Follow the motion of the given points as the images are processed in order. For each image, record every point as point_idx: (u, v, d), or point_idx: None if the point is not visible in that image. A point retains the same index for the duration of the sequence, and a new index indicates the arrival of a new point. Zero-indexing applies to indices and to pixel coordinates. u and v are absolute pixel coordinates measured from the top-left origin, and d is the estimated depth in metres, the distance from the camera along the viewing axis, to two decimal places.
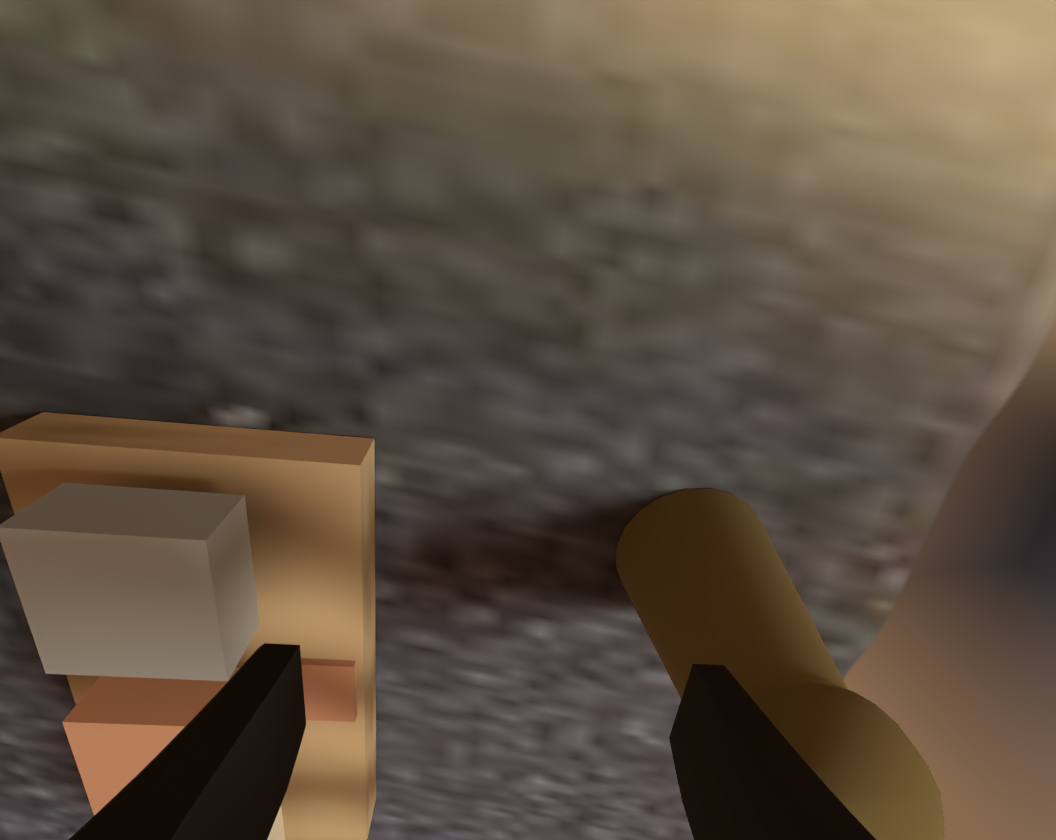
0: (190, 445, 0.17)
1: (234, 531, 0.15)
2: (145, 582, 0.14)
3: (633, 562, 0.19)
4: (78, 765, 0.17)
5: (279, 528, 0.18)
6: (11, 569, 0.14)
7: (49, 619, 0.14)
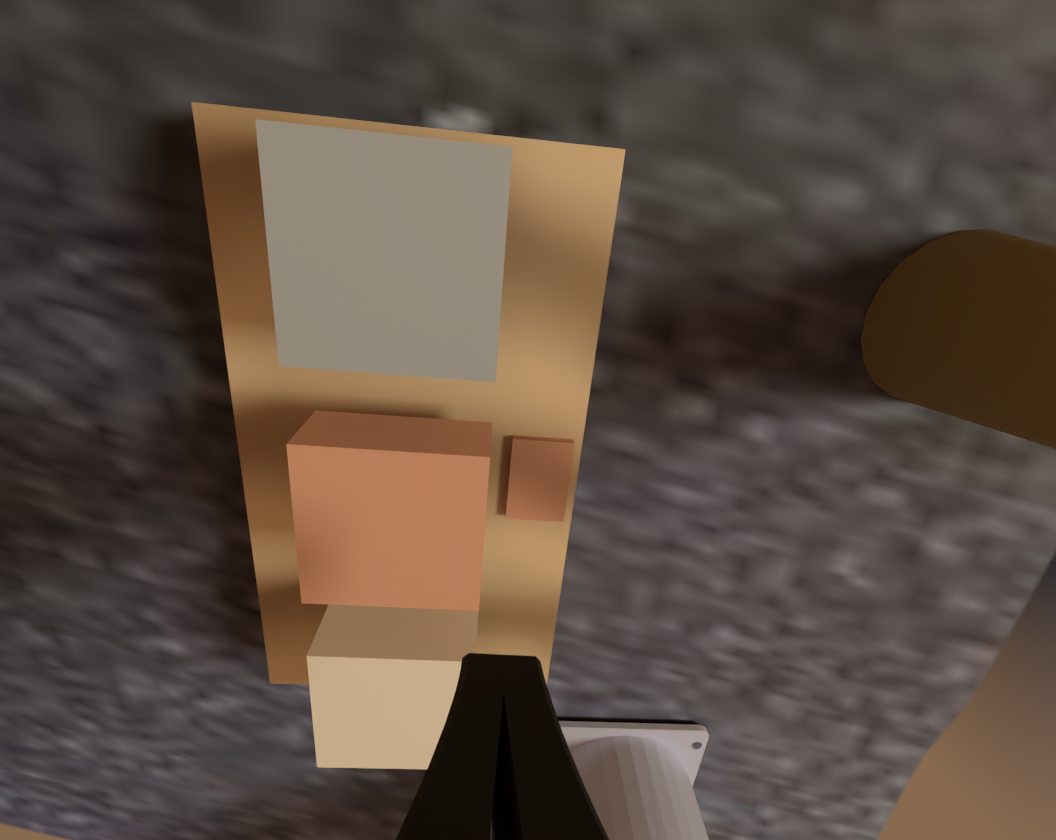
0: None
1: None
2: (425, 217, 0.11)
3: (908, 309, 0.16)
4: (293, 514, 0.14)
5: (515, 244, 0.15)
6: (263, 192, 0.11)
7: (297, 278, 0.11)
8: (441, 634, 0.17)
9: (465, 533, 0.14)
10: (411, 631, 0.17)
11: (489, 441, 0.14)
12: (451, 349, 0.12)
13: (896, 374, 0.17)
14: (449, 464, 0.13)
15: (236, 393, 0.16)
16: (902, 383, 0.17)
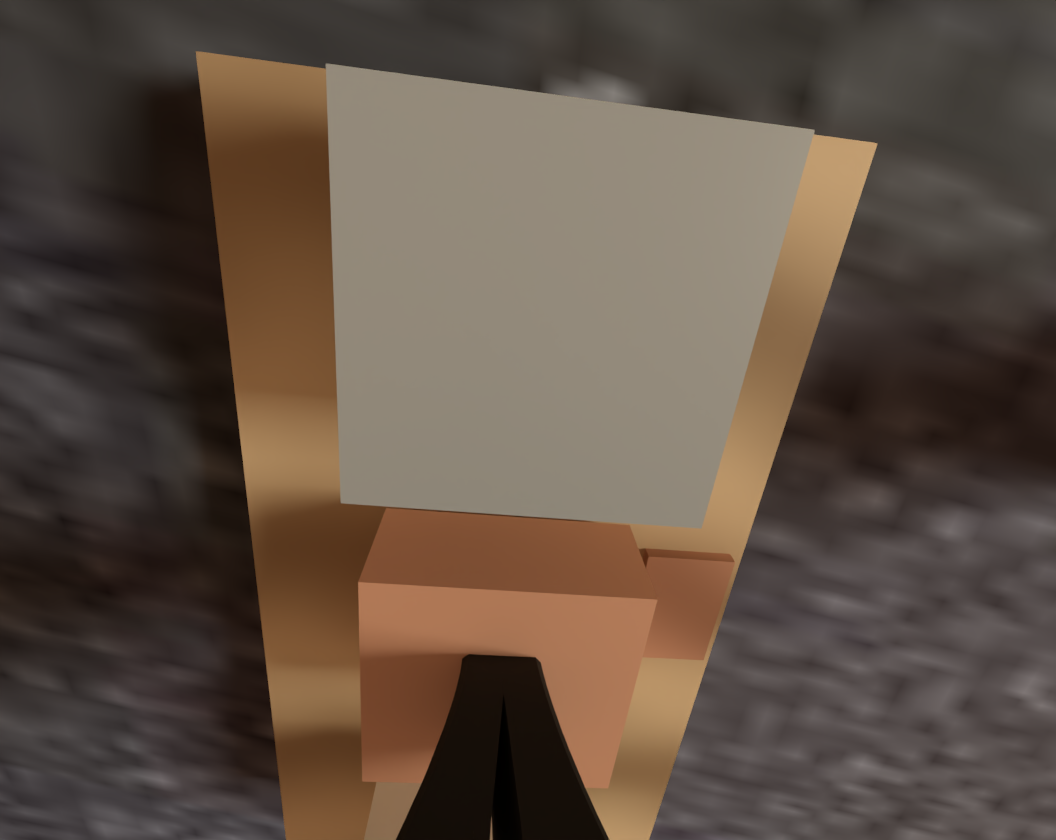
0: None
1: None
2: (628, 258, 0.06)
3: None
4: (360, 671, 0.09)
5: None
6: (333, 208, 0.06)
7: (384, 361, 0.06)
8: None
9: (605, 695, 0.10)
10: None
11: (642, 564, 0.10)
12: (637, 478, 0.07)
13: None
14: (596, 609, 0.09)
15: (254, 491, 0.11)
16: None
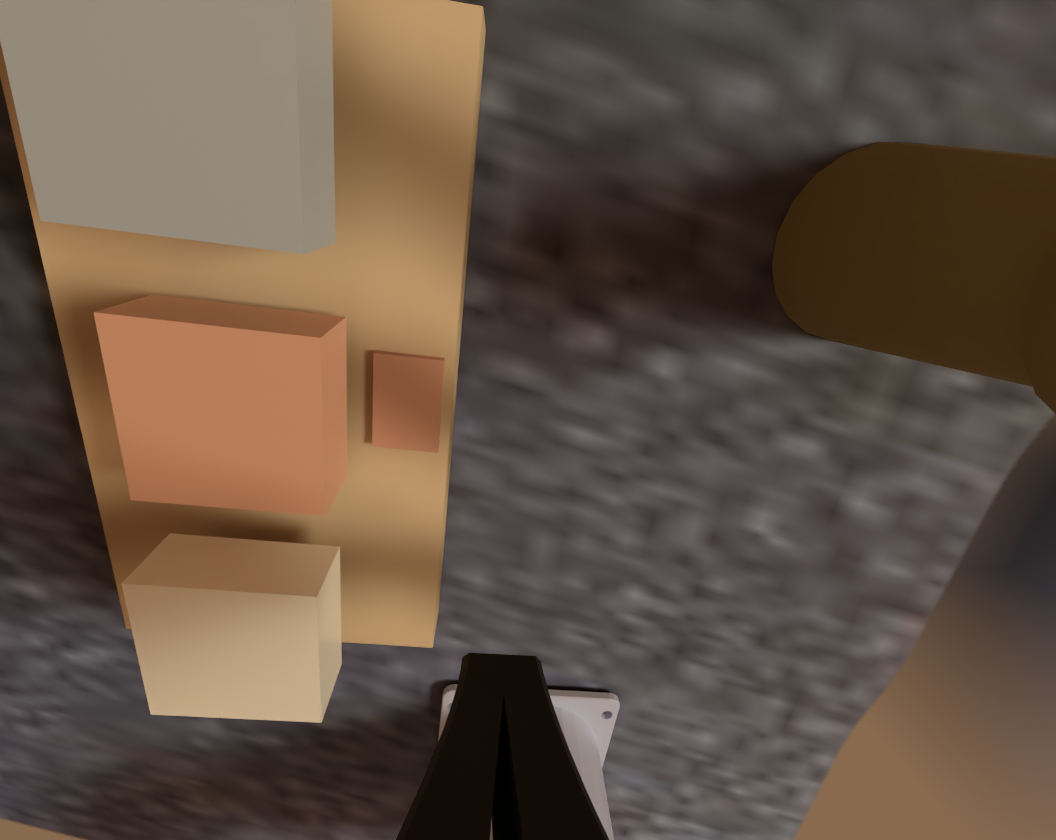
0: None
1: (319, 19, 0.10)
2: (195, 32, 0.09)
3: (815, 223, 0.15)
4: (111, 396, 0.13)
5: (362, 118, 0.13)
6: None
7: (48, 106, 0.10)
8: (288, 568, 0.15)
9: (301, 425, 0.13)
10: (254, 564, 0.15)
11: (330, 328, 0.13)
12: (246, 209, 0.10)
13: (804, 300, 0.16)
14: (276, 344, 0.12)
15: (54, 286, 0.14)
16: (810, 310, 0.16)
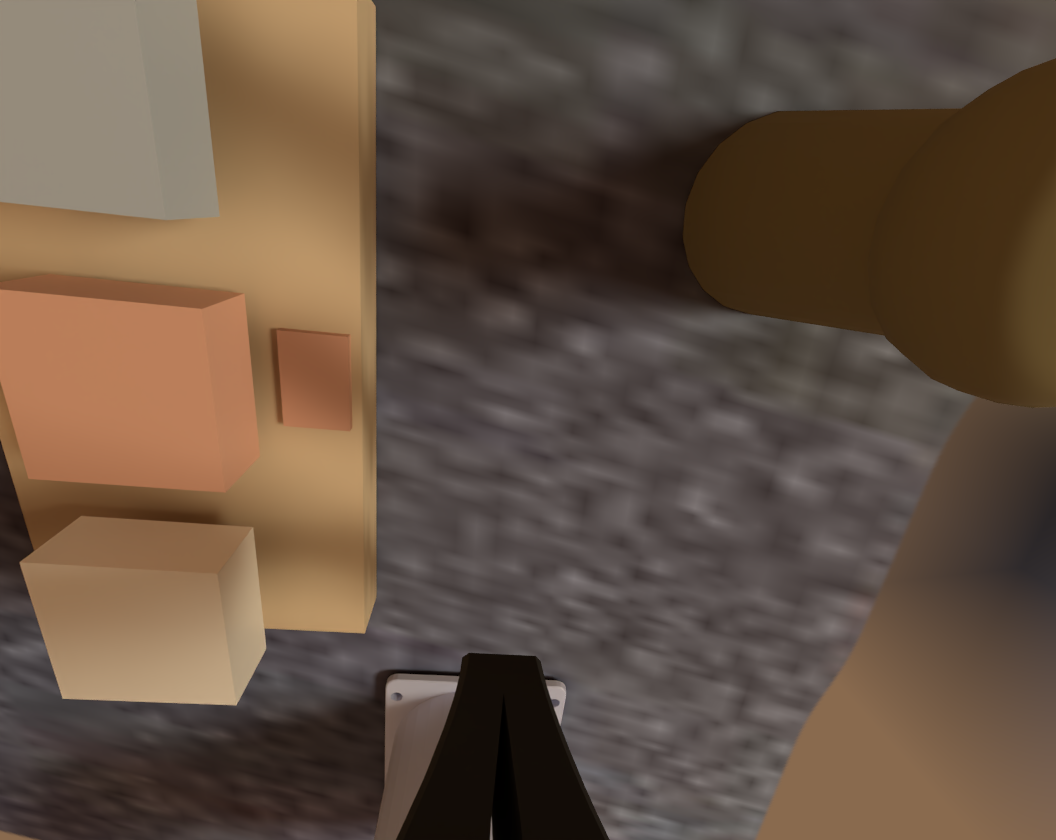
0: None
1: None
2: None
3: (714, 191, 0.15)
4: None
5: (247, 93, 0.13)
6: None
7: None
8: (194, 547, 0.15)
9: (192, 399, 0.13)
10: (160, 543, 0.15)
11: (219, 301, 0.13)
12: (104, 175, 0.10)
13: (711, 270, 0.16)
14: (159, 316, 0.12)
15: None
16: (718, 280, 0.16)
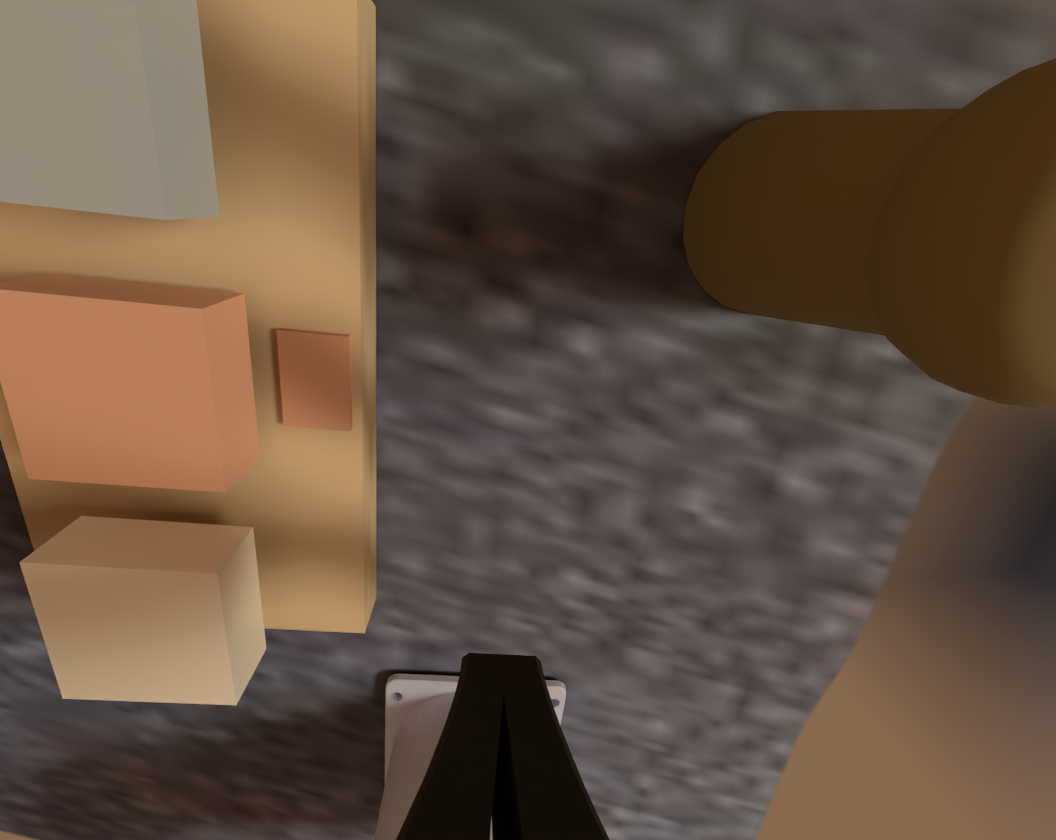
0: None
1: None
2: None
3: (714, 191, 0.15)
4: None
5: (247, 93, 0.13)
6: None
7: None
8: (194, 547, 0.15)
9: (192, 399, 0.13)
10: (160, 543, 0.15)
11: (219, 301, 0.13)
12: (104, 175, 0.10)
13: (711, 270, 0.16)
14: (159, 316, 0.12)
15: None
16: (718, 280, 0.16)
